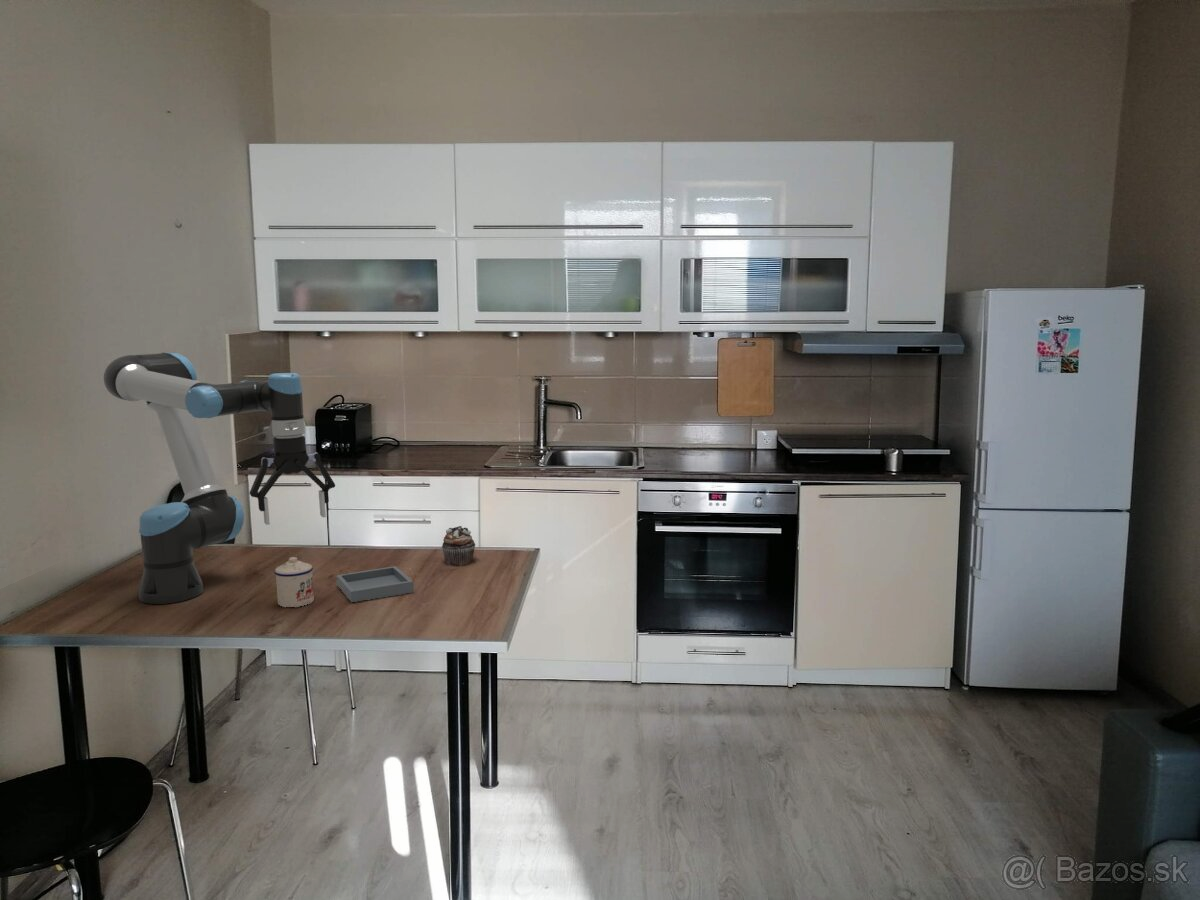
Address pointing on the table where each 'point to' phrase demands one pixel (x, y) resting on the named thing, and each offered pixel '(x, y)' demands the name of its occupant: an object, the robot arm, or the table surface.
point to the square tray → (374, 584)
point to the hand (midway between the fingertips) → (295, 519)
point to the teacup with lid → (294, 583)
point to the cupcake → (458, 546)
